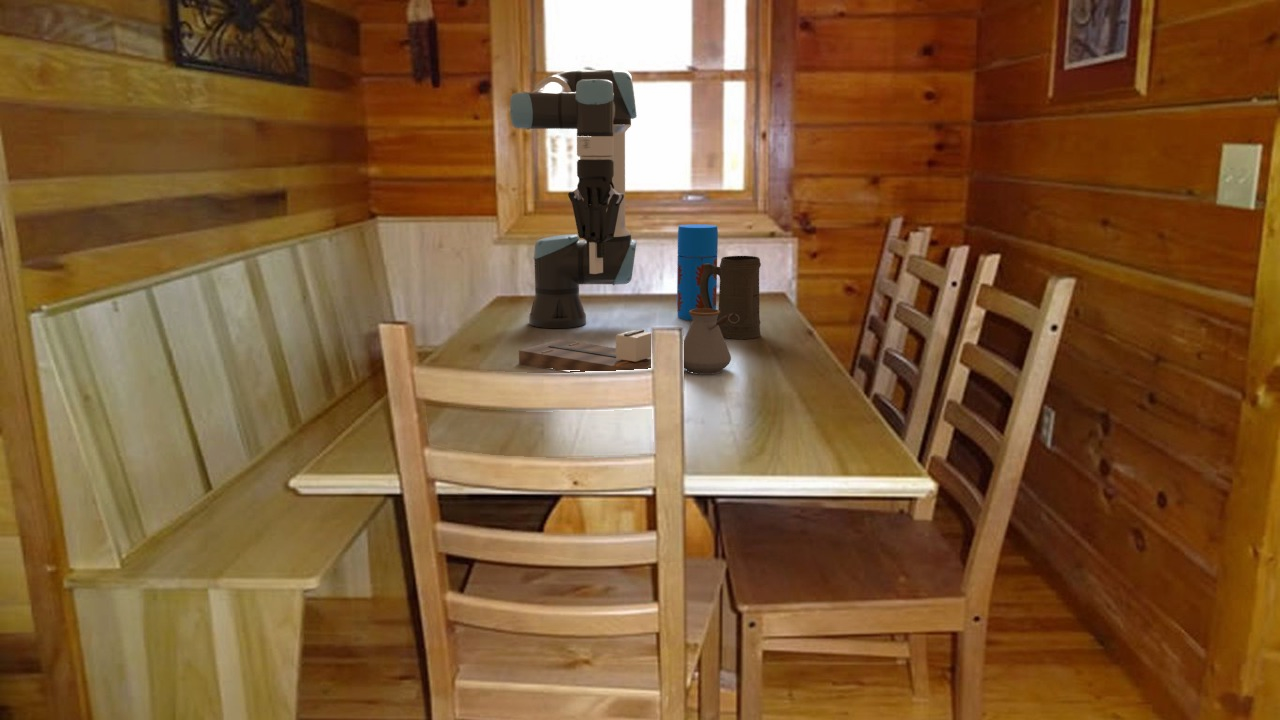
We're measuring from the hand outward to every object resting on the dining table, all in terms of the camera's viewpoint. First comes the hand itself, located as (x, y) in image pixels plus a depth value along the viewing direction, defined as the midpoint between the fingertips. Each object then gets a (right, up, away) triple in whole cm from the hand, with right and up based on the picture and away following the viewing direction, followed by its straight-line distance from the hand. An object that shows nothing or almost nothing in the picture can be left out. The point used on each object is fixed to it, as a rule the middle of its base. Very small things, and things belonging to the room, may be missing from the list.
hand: (596, 272), depth 197 cm
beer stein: (+32, -12, +39) cm, 51 cm away
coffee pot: (+24, -22, -3) cm, 33 cm away
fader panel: (0, -20, +4) cm, 20 cm away
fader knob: (+8, -18, -2) cm, 20 cm away
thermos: (+25, -7, +63) cm, 68 cm away
